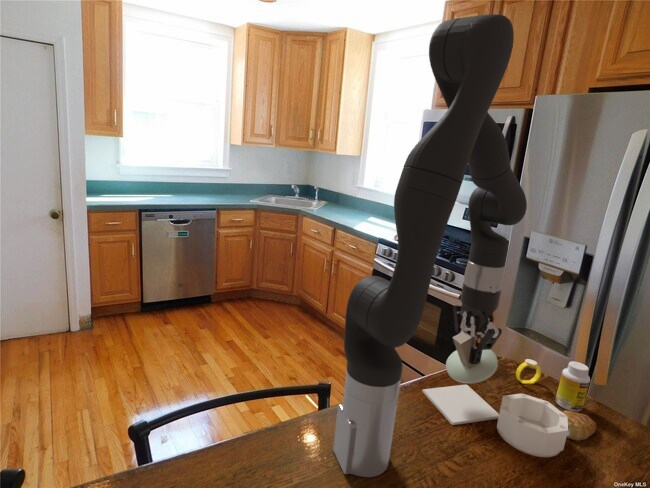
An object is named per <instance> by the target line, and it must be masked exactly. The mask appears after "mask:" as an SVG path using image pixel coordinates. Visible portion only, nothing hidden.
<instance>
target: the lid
mask: <svg viewBox="0 0 650 488" xmlns="http://www.w3.org/2000/svg"><path fill="white" fill-rule="evenodd" d="M452 339H453V344H454V346H455V350H454V351H453V352H452V353H451V354H450V355H449V356H448V358H447V359H446V361H445V368H446V371H447V374H448V376H449V377H450V378H451V379H453V380H454V381H456V382H458V383H462V384H466V385H468V384H477V383H481V382H483V381H486V380H488V379H489V378H491V377H492V376H493V375H494V374H495V372H496V371H497V369H498V366H499V364H498V363H499V361H498V358H497V356H496V353H495V352H494V350H492V349H490V350H482V355H481V361H480V362H479V363H478V364H471V363H469V358H470V353H471V347H472V339H473V337H471V335H469V334H468V333H467V332H465V331H463V332H461V333H458V334H456V335H454V336H452Z"/></svg>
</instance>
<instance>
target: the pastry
mask: <svg viewBox="0 0 650 488" xmlns="http://www.w3.org/2000/svg"><path fill="white" fill-rule="evenodd" d="M560 411H561V412H562V413H564V414H565V415H566V416H567V418H568V433H567V437H566V439H569V440H570V439H571V440H572V441H582V440H586V439H589V438H591V436H592V435H593V434H595V432H596V430H597V428H598V427H597V426H598V425H597V423H596V422H595V421H594V420H593V419H592V418H591V417H590V416H589V415H587V414H584V413H579V412H578V411H577V412H574V411H569V410H567V409H564V410H563V411H562V410H560Z"/></svg>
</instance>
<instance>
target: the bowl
mask: <svg viewBox="0 0 650 488" xmlns="http://www.w3.org/2000/svg"><path fill="white" fill-rule="evenodd" d="M561 411H562V410H559V409H558V408H557V407H556V406H555V405H553V404H552V403H551V402H549V401H547V400H545V399H544V400H543V399H541V398H538V397H534V396H532V395H528V394H525V393H515V394H508V395H507V394H506V395H502V399H501V404H500V407H499V413H498V414H499V418H498V419H497V424H496V429H497V432H498V435H500V437H501V438H502V439H503V440H504V441H505V442H506V443H507V444H509V445H510V446H511V447H513V448H515V449H516V450H518V451H519V452H522V453H525V454H527V455H531V456H533V457H538V458H551V457H552V458H553V457H556V456H557V455H559V454H560V453H561V452H563V451H564V448H565V444H566V442H567V440H566V439H567V433H568V418H567V416H566V415H565V414H564V413H562V412H563V411H562V412H561Z"/></svg>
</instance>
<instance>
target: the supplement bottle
mask: <svg viewBox="0 0 650 488" xmlns="http://www.w3.org/2000/svg"><path fill="white" fill-rule="evenodd" d="M589 371H590V370H589V367H588V366H587V365H586V364H584V363H582V362H578V361H574V360H573V361H569V362H568V365H567V367H566V368H564V369H562V371H561V377H560V380H559V384H558V388H557V391H556V395H555V402H556V404H557V405H558V406H560V407H561V408H562V409H564V410H567V411H572V412H577V413H578V412H580V411H582V410H583V408H584V405H585V400H586V397H587V393H588V391H589V387H590V386H589V385H590V382H591V378H590V375H589Z"/></svg>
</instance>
